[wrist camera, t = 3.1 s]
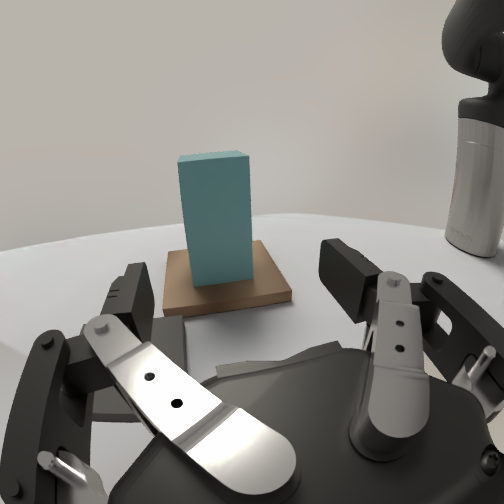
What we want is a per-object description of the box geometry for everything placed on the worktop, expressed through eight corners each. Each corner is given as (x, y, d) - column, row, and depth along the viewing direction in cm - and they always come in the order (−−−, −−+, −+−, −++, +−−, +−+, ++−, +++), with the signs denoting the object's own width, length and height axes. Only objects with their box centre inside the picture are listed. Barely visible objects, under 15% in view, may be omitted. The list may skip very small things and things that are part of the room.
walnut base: (260, 248, 30) (259, 204, 28) (291, 300, 21) (294, 243, 19) (169, 260, 28) (162, 215, 26) (165, 319, 20) (150, 261, 17)
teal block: (242, 252, 27) (237, 150, 23) (253, 278, 23) (249, 155, 18) (191, 259, 26) (180, 155, 22) (193, 286, 22) (177, 162, 17)
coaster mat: (184, 325, 19) (182, 315, 19) (191, 419, 12) (187, 410, 12) (88, 334, 18) (83, 324, 17) (65, 418, 11) (56, 409, 10)
